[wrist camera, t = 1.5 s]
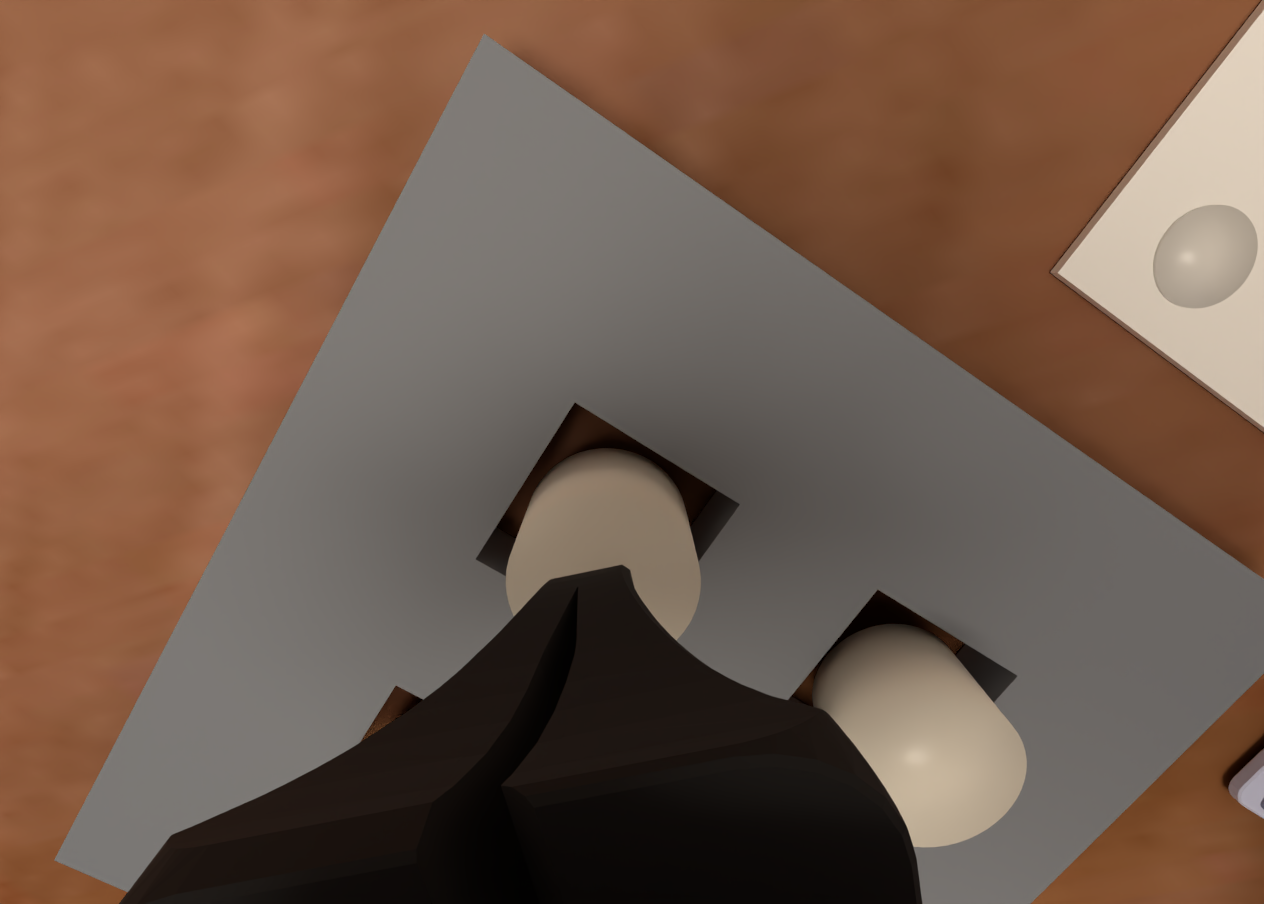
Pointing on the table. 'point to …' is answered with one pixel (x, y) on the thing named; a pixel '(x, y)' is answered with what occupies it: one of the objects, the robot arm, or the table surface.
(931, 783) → the button
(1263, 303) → the card
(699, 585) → the button
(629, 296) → the board
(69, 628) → the table surface
